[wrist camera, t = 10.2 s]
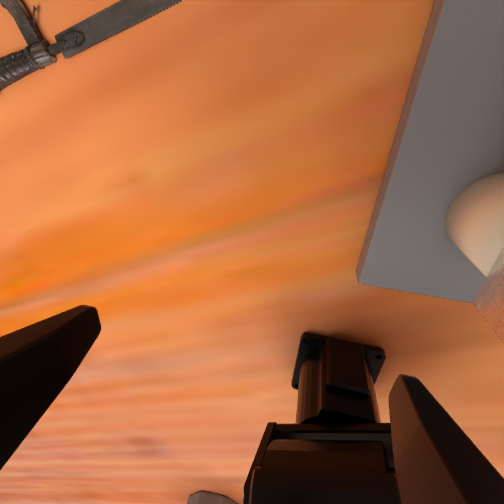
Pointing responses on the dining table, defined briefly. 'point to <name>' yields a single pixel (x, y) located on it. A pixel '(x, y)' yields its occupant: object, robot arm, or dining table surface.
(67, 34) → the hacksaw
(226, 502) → the coffeepot
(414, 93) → the tool rack
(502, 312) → the spanner
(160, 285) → the dining table surface
